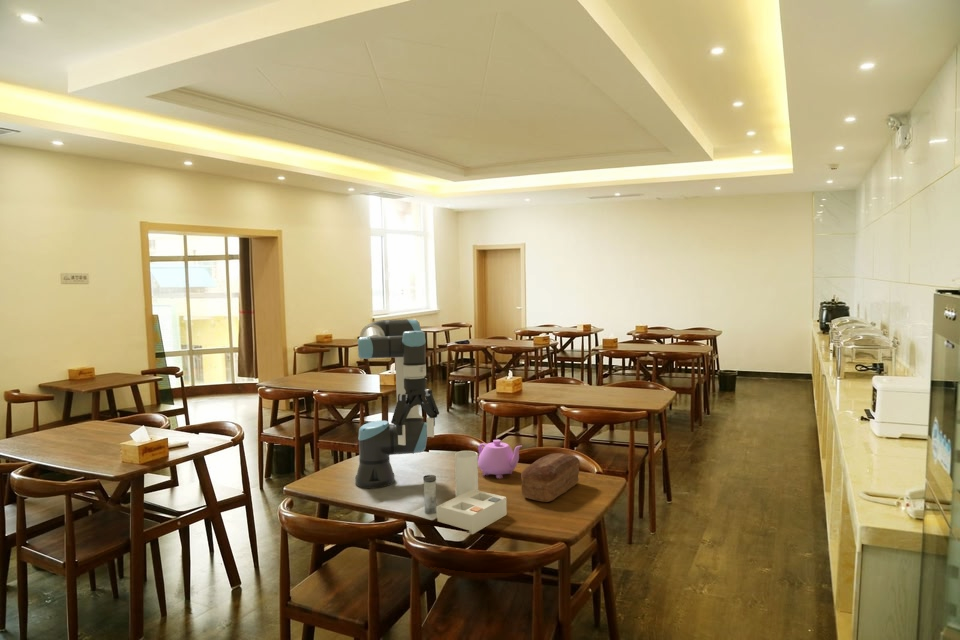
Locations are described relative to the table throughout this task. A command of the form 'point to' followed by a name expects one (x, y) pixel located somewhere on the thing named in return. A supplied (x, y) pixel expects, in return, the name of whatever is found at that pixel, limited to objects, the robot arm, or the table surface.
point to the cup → (466, 471)
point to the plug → (429, 494)
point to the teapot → (497, 458)
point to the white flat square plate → (421, 514)
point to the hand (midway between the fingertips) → (416, 440)
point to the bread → (550, 477)
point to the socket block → (472, 510)
